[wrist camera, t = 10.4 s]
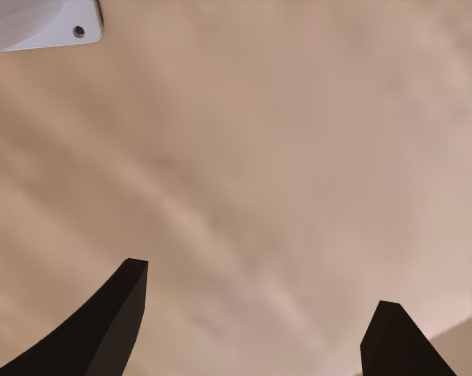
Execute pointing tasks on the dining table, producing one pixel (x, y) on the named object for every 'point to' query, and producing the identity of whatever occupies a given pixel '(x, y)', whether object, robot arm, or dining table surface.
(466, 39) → the dining table surface
